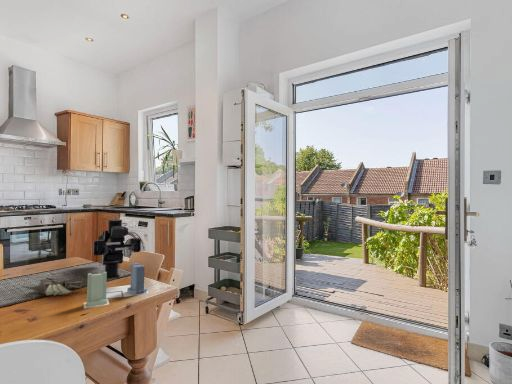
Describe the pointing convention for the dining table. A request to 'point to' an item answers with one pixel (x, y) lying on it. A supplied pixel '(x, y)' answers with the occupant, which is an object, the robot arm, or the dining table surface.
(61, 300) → the dining table surface
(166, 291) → the dining table surface
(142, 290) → the blue flanged post
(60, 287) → the figurine
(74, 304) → the dining table surface
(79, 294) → the dining table surface
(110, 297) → the card
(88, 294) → the pale green upright block
